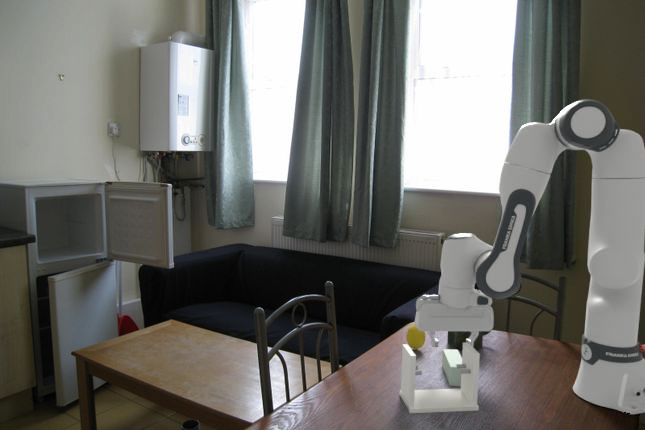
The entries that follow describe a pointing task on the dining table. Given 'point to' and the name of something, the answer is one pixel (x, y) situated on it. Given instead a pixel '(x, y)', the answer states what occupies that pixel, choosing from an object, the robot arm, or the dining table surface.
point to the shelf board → (452, 366)
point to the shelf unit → (441, 397)
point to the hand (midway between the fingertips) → (452, 346)
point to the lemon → (415, 337)
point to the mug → (460, 337)
